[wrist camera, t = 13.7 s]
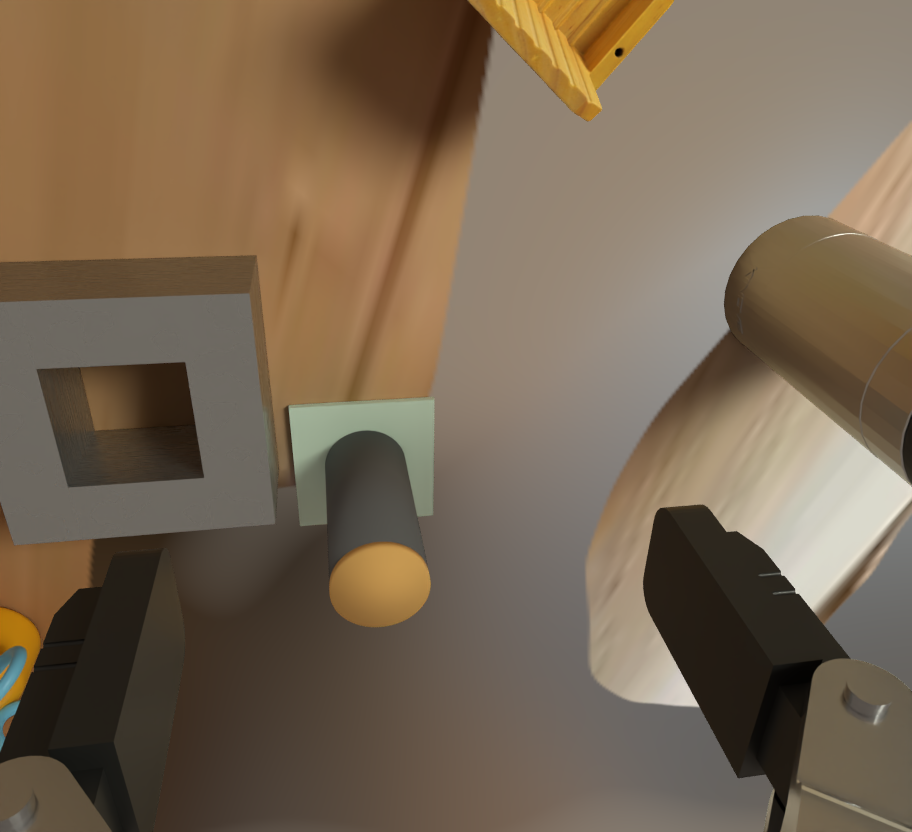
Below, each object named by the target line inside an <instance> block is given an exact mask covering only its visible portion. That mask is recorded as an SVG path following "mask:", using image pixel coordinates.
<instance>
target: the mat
mask: <svg viewBox="0 0 912 832" xmlns="http://www.w3.org/2000/svg"><path fill="white" fill-rule="evenodd" d="M289 416H290V427H291V438H292V448H293V459H294V469H295V480H296V491H297V501H298V511H299V523H300V526H310V525H322V524H327V507H326V479H325V461H326V457H327V454H328V452H329V450H330V449H331V447H332V446H333V445H334V444H335V443H336V442H337V441H338V440H339V439H341V438H342V437H344V436H346V435H348V434H350V433H353V432H357V431H364V430H370V431H377V432H381V433H384V434H386V435H388V436H390V437H391V438H393V439H394V440H395V441H396V442H397V443H398V444H399V445H400V447H401V448H402V450H403V452H404V455H405V460H406V464H407V469H408V474H409V479H410V484H411V489H412V493H413V498H414V503H415V508H416V513H417V517H420V516H432V515H433V492H434V489H433V488H434V484H433V483H434V397H422V398H404V399H387V400H369V401H352V402H335V403H317V404H300V405H289Z"/></svg>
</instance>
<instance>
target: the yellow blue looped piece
mask: <svg viewBox="0 0 912 832" xmlns="http://www.w3.org/2000/svg"><path fill="white" fill-rule="evenodd" d="M40 646H41V641H40V635H39V632H38V630H37V628H36V627H35V625H34V624H33V623H32V622H31V621H30V620H29V619H28V618H26V617H25V616H23V615H22V614H20V613H18V612H16V611H14V610H11V609H7V608H4V607H0V751H1V748H2V746H3V743H4V741H5V736H4V734H3V725H4V723H5V721H6V720H7V719H8V718H10V717H11V716H13V715H15V713H16V710H17V708H18V705H19V703H20V700H18V699H19V698H20V697H21V695H22V693H23V691H24V688H25V686H26V683H27V681H28V678H29V676H30V673H31V671H32V668H33V666H34V663H35V661H36V658H37V656H38V653H39V650H40Z"/></svg>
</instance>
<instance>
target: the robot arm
mask: <svg viewBox="0 0 912 832" xmlns="http://www.w3.org/2000/svg"><path fill="white" fill-rule="evenodd" d="M724 308H725V316H726V320H727V323H728V325H729V328H730V330H731V331H732V333H733V334H734V336H735V337H736V338H737V339H738V340H739V341H740V342H741V343H742V344H743V345H745V346H746V347H747V348H748V349H749V350H751V351H752V352H753V353H754V354H755V355H756V356H758V357H759V358H760V359H761V360H762V361H763V362H765V363H766V364H767V365H768V366H769V367H770V368H771V369H772V370H774V371H775V372H776V373H777V374H778V375H780V376H781V377H782V378H783V379H784V380H785V381H787V382H788V383H789V384H790V385H791V386H793V387H794V388H795V389H796V390H797V391H799V392H800V393H801V394H802V395H803V396H804V397H806V398H807V399H808V400H809V401H810V402H812V403H813V404H814V405H815V406H816V407H818V408H819V409H820V410H821V411H822V412H824V413H825V414H826V415H827V416H828V417H829V418H831V419H832V420H833V421H834V422H835V423H837V424H838V425H839V426H840V427H841V428H843V429H844V430H845V431H846V432H847V433H848V434H850V435H851V436H852V437H853V438H854V439H856V440H857V441H858V442H859V443H860V444H862V445H863V446H864V447H865V448H866V449H867V450H869V451H870V452H871V453H872V454H873V455H875V456H876V457H877V458H879V459H880V460H881V461H882V462H883V463H884V464H886V465H887V466H888V467H889V468H890V469H892V470H893V471H894V472H895V473H896V474H898V475H899V476H900V477H901V478H902V479H904V480H905V481H906V482H907V483H908V484H909V485H911V486H912V256H911V255H909V254H907V253H904V252H902V251H900V250H898V249H896V248H893V247H891V246H889V245H887V244H885V243H883V242H880V241H878V240H877V239H875V238H872V237H870V236H868V235H866V234H864V233H862V232H859V231H857V230H855V229H853V228H851V227H849V226H846V225H844V224H842V223H840V222H838V221H835V220H833V219H831V218H826V217H822V216H801V217H797V218H792V219H788V220H786V221H784V222H782V223H779V224H777V225H775V226H773V227H772V228H770V229H769V230H767V231H766V232H764V233H763V234H761V235H760V236H759V237H758V238H757V239H756V240H755V241H754V242H753V243H751V244H750V246H748V248H747V249H746V250H745V251H744V253H743V254H742V255H741V257H740V258H739V259H738V261H737V263H736V265H735V266H734V268H733V270H732V272H731V274H730V277H729V280H728V283H727V287H726V290H725V299H724ZM643 589H644V597H645V602H646V605H647V609H648V611H649V613H650V616H651V617H652V619H653V621H654V623H655V625H656V627H657V629H658V630H659V632H660V634H661V636H662V638H663V640H664V642H665V643H666V645H667V647H668V649H669V651H670V653H671V655H672V656H673V658H674V660H675V662H676V664H677V666H678V668H679V669H680V671H681V673H682V675H683V677H684V679H685V681H686V682H687V684H688V686H689V688H690V690H691V692H692V694H693V695H694V697H695V699H696V701H697V703H698V705H699V707H700V708H701V710H702V712H703V714H704V715H705V718H706V720H707V721H708V723H709V725H710V727H711V729H712V730H713V733H714V734H715V736H716V738H717V740H718V742H719V744H720V746H721V747H722V749H723V751H724V753H725V755H726V757H727V758H728V760H729V762H730V764H731V766H732V768H733V770H734V772H735V773H736V775H737V777H738V778H743V777H750V776H757V775H764V774H766V775H767V777H768V779H769V781H770V783H771V784H772V786H773V791H772V794H771V797H770V800H769V804H768V810H767V816H766V820H765V826H764V831H763V832H912V691H911V690H910V689H909V688H908V687H907V686H906V685H905V684H904V683H903V682H902V681H900V680H899V679H898V678H897V677H895V676H894V675H892V674H891V673H889V672H888V671H886V670H884V669H882V668H880V667H877V666H875V665H873V664H870V663H867V662H864V661H860V660H854V659H850V658H849V656H848V655H847V654H846V652H845V651H844V650H843V649H842V647H841V646H840V645H839V644H838V643H837V641H836V640H835V639H834V638H833V636H832V635H831V634H830V632H829V631H828V630H827V629H826V627H825V626H824V625H823V624H822V622H821V621H820V620H819V619H818V617H817V616H816V615H815V614H814V612H813V611H812V610H811V608H810V607H809V606H808V605H807V603H806V602H805V601H804V600H803V598H802V597H801V596H800V595H799V594H796V593H795V588H794V587H793V586H792V585H791V583H790V582H789V581H788V580H787V578H786V577H785V576H781V571H780V570H779V568H778V567H777V566H776V565H775V563H774V562H773V561H772V560H771V558H770V557H769V556H768V555H767V553H766V552H765V551H764V550H763V549H762V548H761V547H759V546H758V545H756V544H755V543H753V542H752V541H750V540H749V539H747V538H746V537H744V536H743V535H742V534H740V533H739V532H737V531H734V532H726V531H725V529H724V528H723V527H722V525H721V524H720V523H719V521H718V520H717V519H716V517H715V516H714V515H713V514H712V512H711V511H710V510H709V509H708V507H706V506H705V505H690V506H678V507H666V508H660V509H659V510H658V511H657V512H656V515H655V518H654V523H653V528H652V534H651V539H650V545H649V550H648V556H647V561H646V566H645V572H644V578H643ZM43 645H44V646H43V649H41V650H40V652H39V655H38V657H37V660H36V662H35V665H34V672H32V673H31V675H30V678H29V680H28V683H27V685H26V688H25V690H24V693H23V695H22V698H21V700H20V703H19V705H18V708H17V710H16V713H15V715H14V718H13V720H12V723H11V725H10V728H9V731H8V733H7V736H6V738H5V741H4V743H3V746H2V748H1V751H0V832H153V829H154V823H155V818H156V812H157V807H158V801H159V796H160V790H161V785H162V779H163V774H164V768H165V762H166V757H167V751H168V746H169V740H170V734H171V729H172V724H173V718H174V713H175V707H176V702H177V696H178V691H179V685H180V679H181V673H182V668H183V663H184V654H185V630H184V622H183V616H182V611H181V606H180V601H179V596H178V591H177V586H176V581H175V576H174V571H173V567H172V561H171V557H170V553H169V551H168V549H167V548H159V549H148V550H136V551H123V552H116V553H115V554H114V555H113V558H112V560H111V563H110V566H109V569H108V572H107V575H106V578H105V581H104V584H103V587H95V588H84V589H78V590H77V591H76V593H75V594H74V595H73V596H72V597H71V598H70V599H69V600H68V601H67V602H66V603H65V604H64V605H63V606H62V607H61V608H60V609H59V610H58V612H57V613H56V614H55V615H54V617H53V620H52V622H51V625H50V627H49V630H48V632H47V635H46V637H45V640H44V642H43Z"/></svg>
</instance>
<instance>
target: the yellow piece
mask: <svg viewBox="0 0 912 832" xmlns="http://www.w3.org/2000/svg"><path fill="white" fill-rule="evenodd" d="M467 1H468V2H469V3H470V4H471V5H472V6H473V7H474V8H475V9H476V10H477V11H478V12H479V13H480V14H481V15H482V17H483V18H484V19H485V20H486V21H487V22H488V23H489V24H490V25H491V26H492V27H493V28H494V29H495V30H496V31H497V33H498V34H499V35H500V36H501V37H502V38H503V39H504V40H505V41H506V42H507V43H508V44H509V45H510V47H511V48H512V49H513V50H514V51H515V52H516V53H517V54H518V55H519V56H520V57H521V58H522V59H523V60H524V61H525V62H526V63H527V64H528V65H529V66H530V67H531V68H532V69H533V70H534V71H535V72H536V73H537V75H538V76H539V77H540V78H541V79H542V80H543V81H544V82H545V83H546V84H547V85H548V87H549V88H550V89H551V90H552V91H553V92H554V93H555V94H556V95H557V96H558V97H559V98H560V99H561V100H562V101H563V102H564V103H565V104H566V105H567V107H568V108H569V109H570V110H571V111H572V112H574V113H575V114H576V115H578V116H580V117H581V118H583V119H584V120H586V121H591V120H592V119H593V118H594V117H595V116H596V115H597V114H598V113H599V112H601V110H602V107H601V104H600V101H599V99H598V96H597V94H596V90H597V89H598V88H599V87H600V86H601V84H602V83H603V82H604V81H605V80H606V79H607V77H608V76H609V75H610V74H611V73H612V72H613V70H615V69H616V67H617V66H618V65H619V64H620V63H621V62H622V61H623V60H624V58H625V57H626V56H627V55H628V54H629V53H630V52H631V51H632V49H633V48H634V47H635V46H636V45H637V43H638V42H639V41H640V40H641V39H642V38H643V37H644V36H645V35H646V33H647V32H648V31H649V30H650V29H651V28H652V26H653V25H654V24H655V23H656V22H657V20H659V18H660V17H661V16H662V15H663V14H664V13H665V12H666V10H668V8H669V7H670V6H671V5H672V3H673V2H674V0H467Z"/></svg>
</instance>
